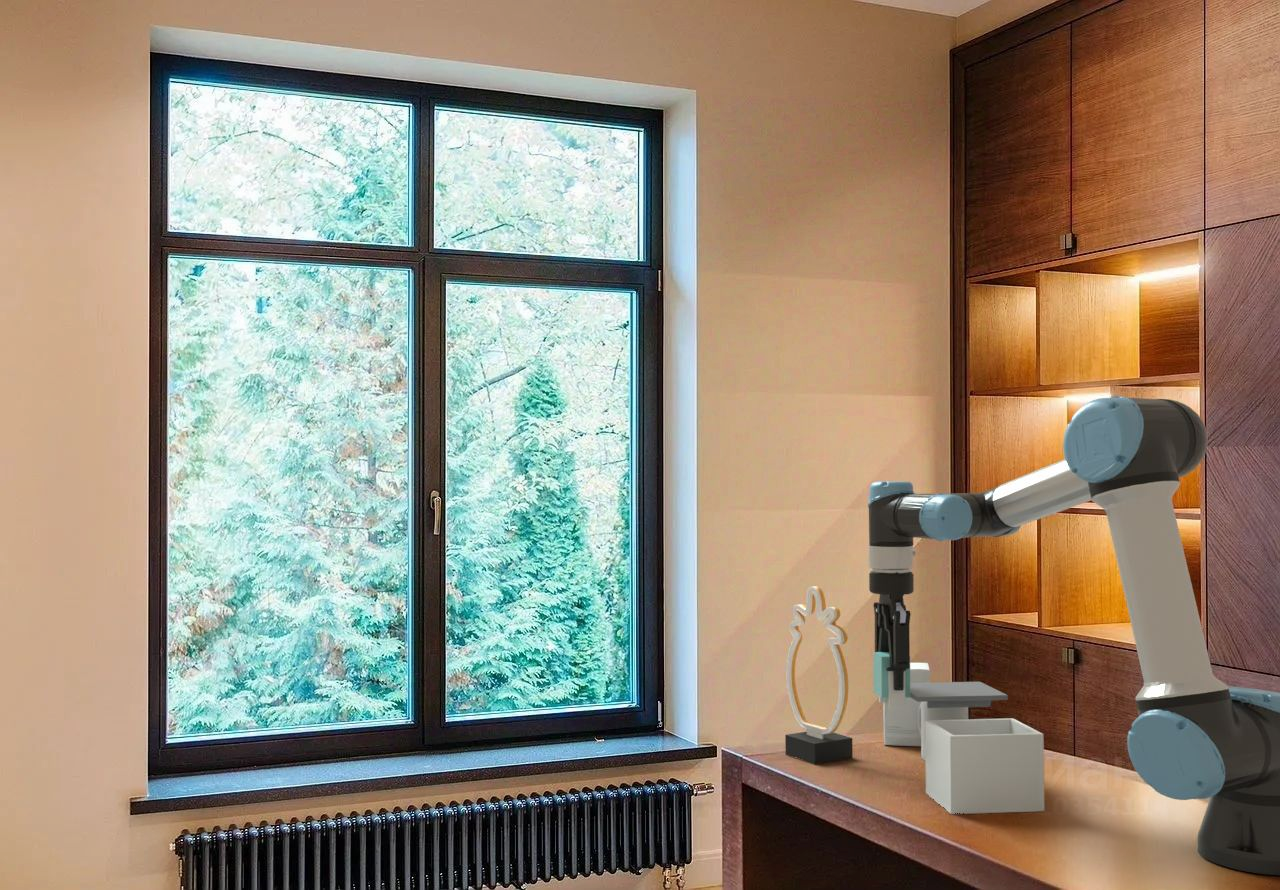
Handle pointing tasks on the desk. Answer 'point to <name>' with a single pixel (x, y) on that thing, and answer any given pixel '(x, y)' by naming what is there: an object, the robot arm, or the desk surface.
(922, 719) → the mug
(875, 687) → the lid
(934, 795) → the tub
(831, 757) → the lamp
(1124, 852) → the desk surface
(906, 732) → the supplement box
